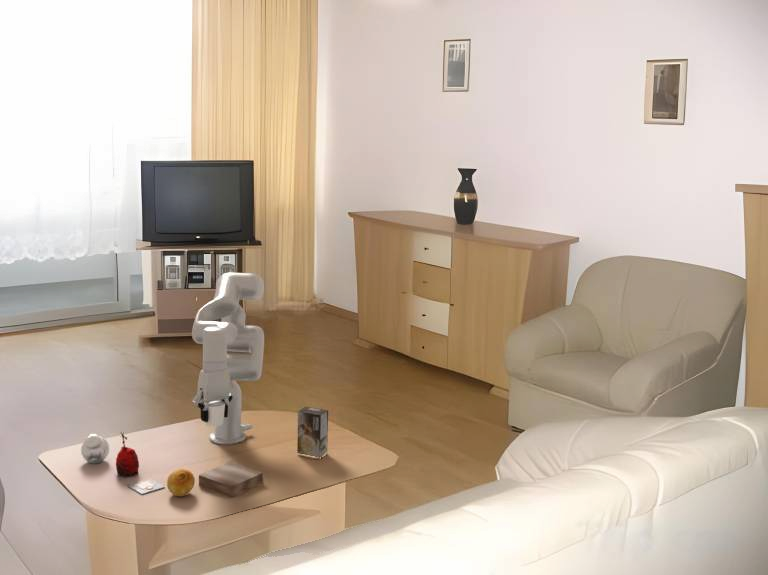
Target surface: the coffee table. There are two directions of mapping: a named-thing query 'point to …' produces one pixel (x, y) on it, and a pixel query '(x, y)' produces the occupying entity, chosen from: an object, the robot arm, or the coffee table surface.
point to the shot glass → (215, 413)
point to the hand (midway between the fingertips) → (214, 418)
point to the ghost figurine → (95, 448)
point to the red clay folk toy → (127, 461)
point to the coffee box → (312, 431)
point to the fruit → (180, 482)
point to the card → (146, 486)
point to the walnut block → (230, 479)
